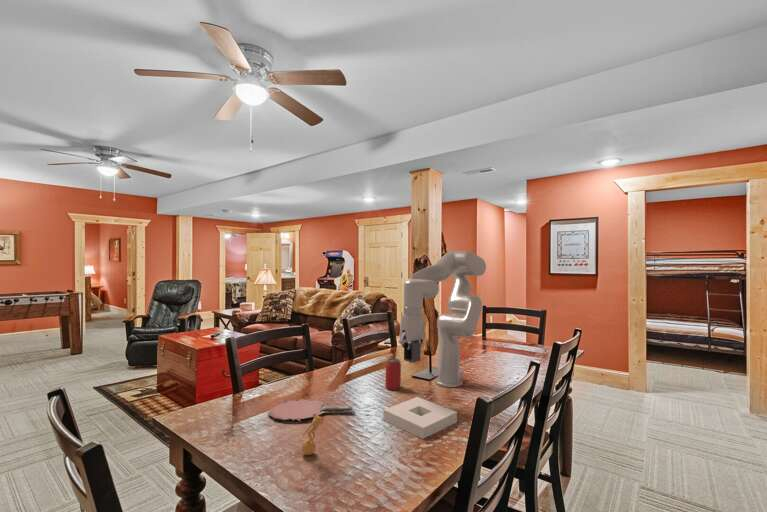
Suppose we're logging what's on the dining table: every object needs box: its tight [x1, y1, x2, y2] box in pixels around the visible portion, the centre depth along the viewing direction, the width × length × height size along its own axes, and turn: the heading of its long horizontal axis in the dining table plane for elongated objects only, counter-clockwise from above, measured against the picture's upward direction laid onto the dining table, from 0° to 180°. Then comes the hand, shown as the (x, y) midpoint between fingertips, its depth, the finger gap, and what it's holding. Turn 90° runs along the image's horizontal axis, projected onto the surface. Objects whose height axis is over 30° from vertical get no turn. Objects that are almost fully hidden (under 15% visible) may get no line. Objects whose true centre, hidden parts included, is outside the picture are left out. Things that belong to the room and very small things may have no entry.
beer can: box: [384, 358, 402, 391], centre depth 158 cm, size 7×7×12 cm
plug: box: [403, 341, 422, 365], centre depth 144 cm, size 5×5×8 cm
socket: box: [382, 396, 458, 440], centre depth 126 cm, size 18×18×4 cm
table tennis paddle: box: [268, 398, 354, 424], centre depth 129 cm, size 18×29×3 cm, turn 74°
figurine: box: [301, 413, 325, 456], centre depth 103 cm, size 8×6×12 cm
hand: (412, 357), depth 144 cm, fingers closed on plug, 4 cm apart
